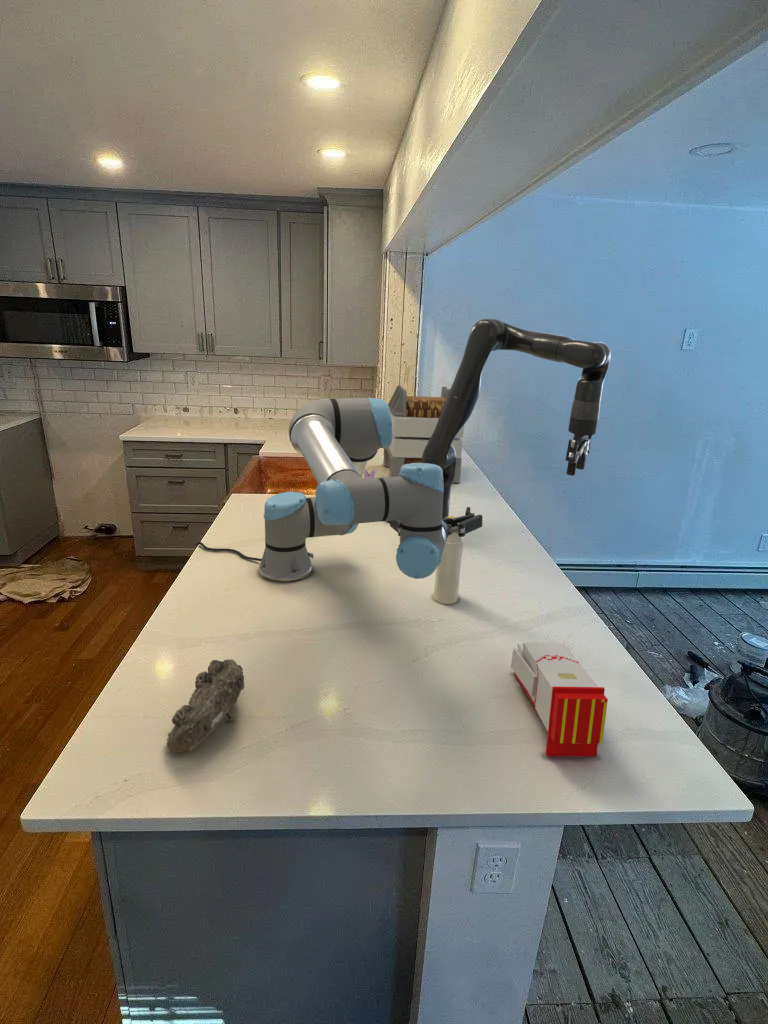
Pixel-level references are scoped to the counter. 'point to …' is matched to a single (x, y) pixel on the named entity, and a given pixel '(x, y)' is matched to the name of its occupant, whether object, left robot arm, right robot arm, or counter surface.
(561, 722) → the toy
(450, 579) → the bottle
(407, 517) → the left robot arm
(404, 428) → the transformer
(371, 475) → the figurine
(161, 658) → the counter surface
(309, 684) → the counter surface
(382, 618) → the counter surface
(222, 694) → the fossil
